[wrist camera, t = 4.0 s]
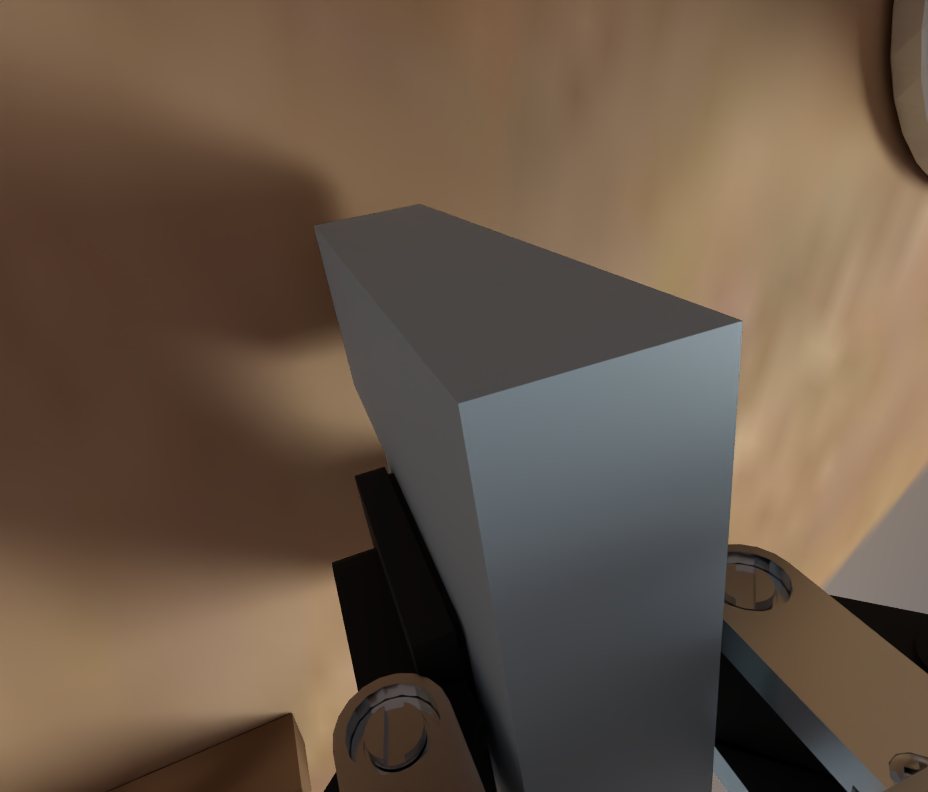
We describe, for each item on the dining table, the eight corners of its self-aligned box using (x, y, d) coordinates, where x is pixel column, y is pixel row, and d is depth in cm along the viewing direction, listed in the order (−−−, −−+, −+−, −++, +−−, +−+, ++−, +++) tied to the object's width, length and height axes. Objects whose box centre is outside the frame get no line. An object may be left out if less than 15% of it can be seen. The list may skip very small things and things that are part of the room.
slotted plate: (313, 225, 12) (457, 403, 4) (419, 204, 12) (744, 321, 4) (409, 598, 16) (567, 1038, 8) (483, 571, 16) (700, 959, 9)
